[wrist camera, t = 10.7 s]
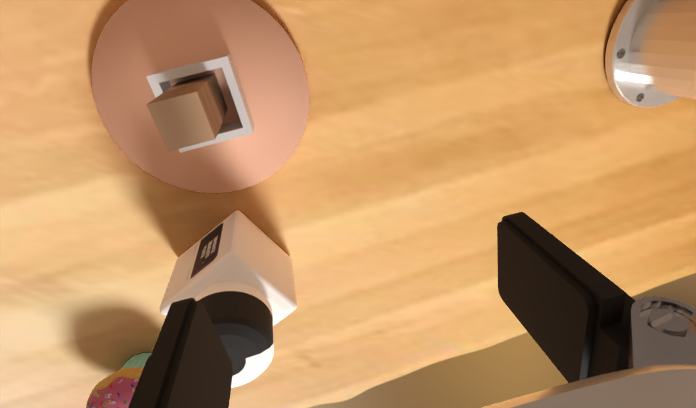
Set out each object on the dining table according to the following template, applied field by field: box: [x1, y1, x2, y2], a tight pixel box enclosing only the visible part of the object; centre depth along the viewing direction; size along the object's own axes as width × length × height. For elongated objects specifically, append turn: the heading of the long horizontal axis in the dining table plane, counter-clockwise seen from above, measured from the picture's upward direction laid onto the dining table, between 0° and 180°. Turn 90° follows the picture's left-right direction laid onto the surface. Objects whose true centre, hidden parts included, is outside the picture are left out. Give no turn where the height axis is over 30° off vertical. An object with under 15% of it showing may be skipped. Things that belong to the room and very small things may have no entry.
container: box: [160, 210, 297, 388], centre depth 31 cm, size 8×8×13 cm
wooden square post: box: [146, 73, 228, 152], centre depth 25 cm, size 3×3×9 cm
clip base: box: [92, 0, 310, 193], centre depth 29 cm, size 16×16×4 cm
